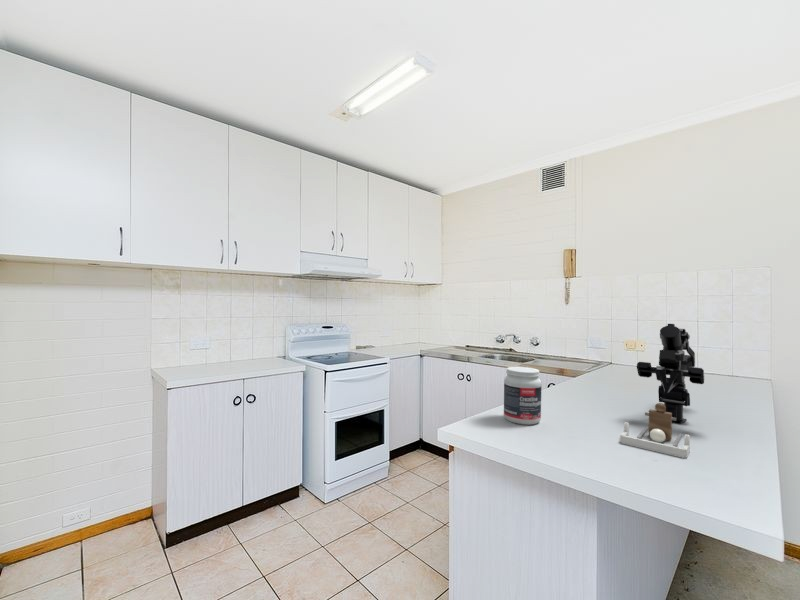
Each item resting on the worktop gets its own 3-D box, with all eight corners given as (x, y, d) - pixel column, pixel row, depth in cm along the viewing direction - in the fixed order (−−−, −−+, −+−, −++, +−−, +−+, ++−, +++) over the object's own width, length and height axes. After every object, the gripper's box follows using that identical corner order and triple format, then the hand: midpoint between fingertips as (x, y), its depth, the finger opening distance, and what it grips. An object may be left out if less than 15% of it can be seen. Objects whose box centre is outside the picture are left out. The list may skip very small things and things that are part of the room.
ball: (652, 438, 117) (652, 425, 117) (667, 442, 114) (667, 429, 114) (647, 441, 115) (647, 428, 115) (662, 445, 112) (662, 432, 112)
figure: (645, 433, 122) (646, 399, 122) (676, 439, 116) (676, 404, 116) (643, 435, 119) (644, 401, 119) (674, 442, 114) (675, 407, 114)
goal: (624, 438, 118) (624, 421, 118) (689, 452, 107) (690, 435, 107) (619, 443, 113) (619, 426, 113) (687, 459, 102) (687, 441, 102)
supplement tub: (527, 428, 127) (528, 374, 127) (496, 419, 137) (496, 368, 137) (548, 421, 135) (548, 370, 135) (517, 412, 145) (517, 365, 145)
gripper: (638, 339, 137) (630, 373, 129) (704, 343, 124) (700, 382, 116) (642, 358, 142) (635, 392, 134) (705, 365, 130) (702, 403, 122)
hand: (666, 392), depth 126 cm, fingers closed
